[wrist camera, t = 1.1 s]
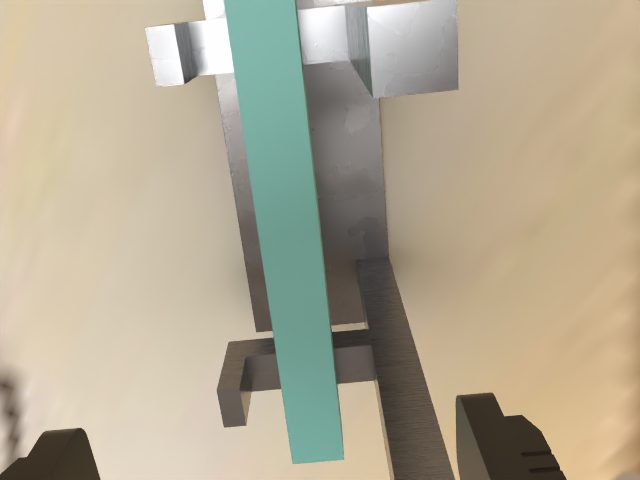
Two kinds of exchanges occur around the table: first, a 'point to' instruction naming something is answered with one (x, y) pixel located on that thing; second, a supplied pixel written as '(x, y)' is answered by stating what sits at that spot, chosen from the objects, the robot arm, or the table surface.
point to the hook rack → (336, 196)
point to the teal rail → (287, 218)
